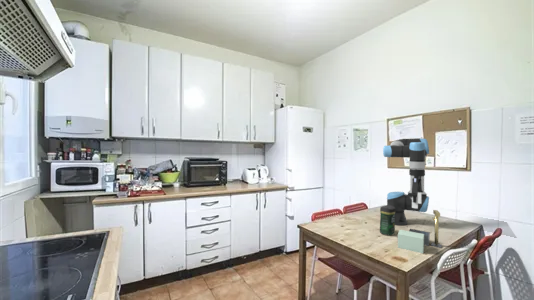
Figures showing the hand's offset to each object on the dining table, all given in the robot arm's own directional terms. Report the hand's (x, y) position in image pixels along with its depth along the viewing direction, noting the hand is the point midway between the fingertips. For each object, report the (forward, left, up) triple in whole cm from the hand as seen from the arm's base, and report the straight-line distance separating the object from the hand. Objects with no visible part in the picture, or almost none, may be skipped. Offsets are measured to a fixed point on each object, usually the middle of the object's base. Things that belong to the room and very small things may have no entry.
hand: (416, 205), depth 132 cm
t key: (+9, +10, -23) cm, 26 cm away
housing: (+3, +9, -24) cm, 25 cm away
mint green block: (-2, -4, -24) cm, 24 cm away
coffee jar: (-18, +12, -24) cm, 32 cm away
